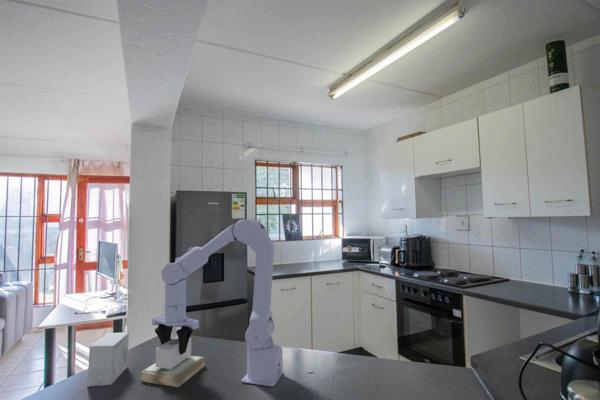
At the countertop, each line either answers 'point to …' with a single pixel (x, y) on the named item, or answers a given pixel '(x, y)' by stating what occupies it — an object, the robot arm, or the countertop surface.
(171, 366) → the block
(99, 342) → the skincare box
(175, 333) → the milkshake
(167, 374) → the stand
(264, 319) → the robot arm
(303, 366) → the countertop surface
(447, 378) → the countertop surface
